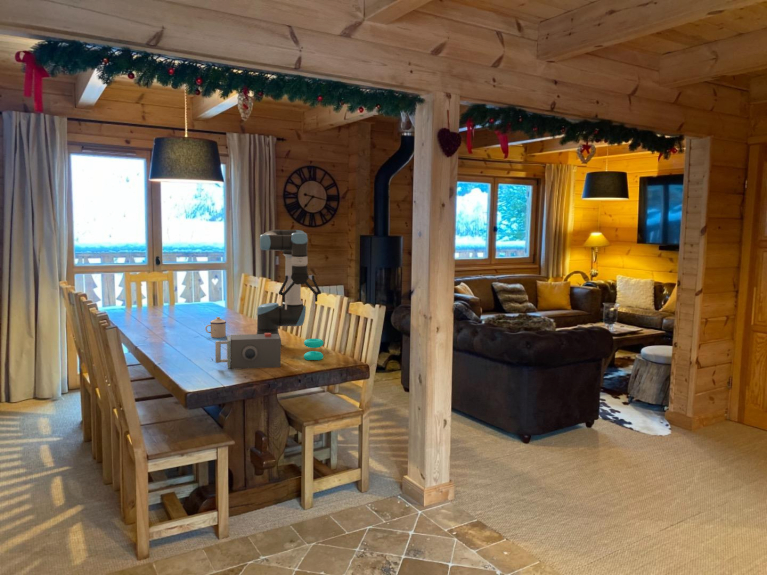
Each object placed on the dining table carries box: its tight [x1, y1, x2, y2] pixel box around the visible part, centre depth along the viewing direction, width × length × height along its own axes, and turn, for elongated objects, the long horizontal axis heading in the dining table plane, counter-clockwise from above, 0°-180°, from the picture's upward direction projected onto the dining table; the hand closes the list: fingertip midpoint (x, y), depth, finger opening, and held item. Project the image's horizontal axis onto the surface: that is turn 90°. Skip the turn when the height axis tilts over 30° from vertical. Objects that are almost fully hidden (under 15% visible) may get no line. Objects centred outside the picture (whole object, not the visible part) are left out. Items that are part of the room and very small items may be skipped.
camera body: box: [230, 333, 282, 370], centre depth 295 cm, size 14×23×15 cm, turn 106°
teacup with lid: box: [205, 316, 227, 339], centre depth 362 cm, size 12×9×12 cm
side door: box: [214, 335, 231, 369], centre depth 293 cm, size 13×7×13 cm, turn 16°
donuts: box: [303, 338, 325, 361], centre depth 312 cm, size 10×10×10 cm
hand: (300, 308), depth 296 cm, fingers open, 13 cm apart
